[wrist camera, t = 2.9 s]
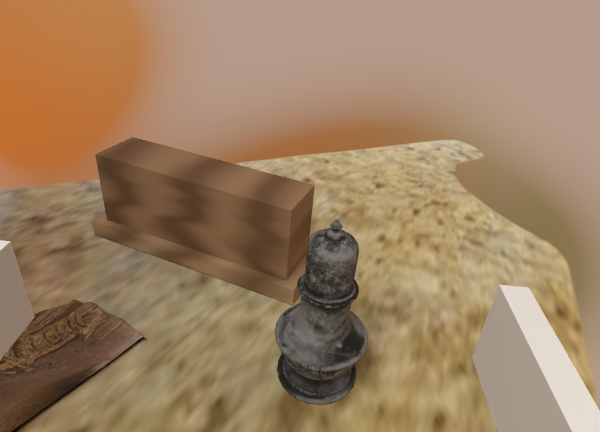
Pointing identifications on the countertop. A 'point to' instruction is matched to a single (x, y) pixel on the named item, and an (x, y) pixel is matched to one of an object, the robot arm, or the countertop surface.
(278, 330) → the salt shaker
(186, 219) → the ridge
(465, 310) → the countertop surface
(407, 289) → the countertop surface
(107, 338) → the wooden fragment
